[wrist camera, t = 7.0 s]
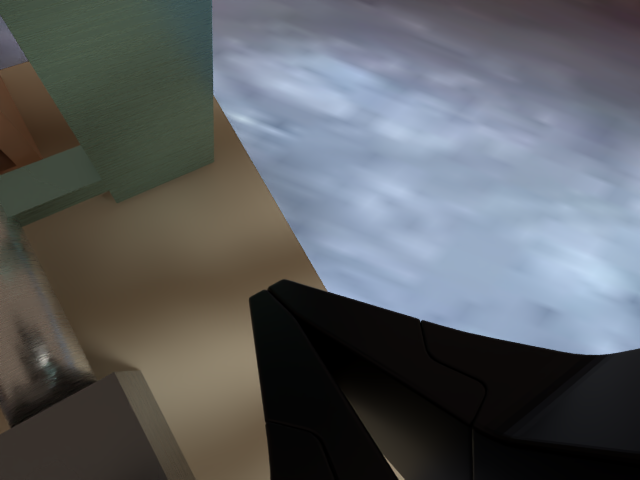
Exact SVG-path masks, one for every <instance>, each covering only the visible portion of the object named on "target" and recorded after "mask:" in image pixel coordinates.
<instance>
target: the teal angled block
mask: <svg viewBox="0 0 640 480" xmlns="http://www.w3.org/2000/svg"><path fill="white" fill-rule="evenodd" d="M0 15H1V17H2V18H3V20H4V22H5V23H6V25H7V26H8V28H9V30H10V31H11V33H12V34H13V36H14V38H15V39H16V41H17V43H18V44H19V46H20V47H21V49H22V51H23V52H24V54H25V56H26V57H27V59H28V60H29V62H30V64H31V65H32V67H33V68H34V70H35V72H36V73H37V75H38V77H39V78H40V80H41V81H42V83H43V85H44V86H45V88H46V90H47V91H48V93H49V94H50V96H51V98H52V99H53V101H54V102H55V104H56V106H57V107H58V109H59V111H60V112H61V114H62V115H63V117H64V119H65V120H66V122H67V124H68V125H69V127H70V128H71V130H72V132H73V133H74V135H75V136H76V138H77V140H78V141H79V143H80V145H79V146H77V147H74V148H71V149H69V150H66V151H63V152H61V153H58V154H55V155H53V156H50V157H47V158H45V159H42V160H39V161H37V162H34V163H31V164H29V165H26V166H23V167H21V168H18V169H15V170H13V171H10V172H7V173H5V174H2V175H0V408H1V411H2V413H3V415H4V417H5V419H6V422H7V424H8V426H9V428H10V429H11V428H13V427H14V426H16V425H18V424H20V423H22V422H24V421H25V420H27V419H29V418H31V417H33V416H34V415H36V414H38V413H40V412H42V411H44V410H45V409H47V408H49V407H51V406H53V405H55V404H56V403H58V402H60V401H62V400H64V399H65V398H67V397H69V396H71V395H73V394H75V393H76V392H78V391H80V390H82V389H84V388H86V387H87V386H89V385H91V384H93V383H95V382H96V381H98V380H97V378H96V376H95V374H94V372H93V370H92V368H91V366H90V364H89V362H88V360H87V358H86V356H85V354H84V352H83V350H82V348H81V345H80V343H79V341H78V339H77V337H76V335H75V333H74V331H73V329H72V327H71V325H70V323H69V321H68V319H67V317H66V315H65V313H64V311H63V309H62V307H61V305H60V303H59V301H58V299H57V297H56V295H55V293H54V291H53V289H52V287H51V285H50V282H49V280H48V278H47V276H46V274H45V272H44V270H43V268H42V266H41V264H40V262H39V260H38V258H37V256H36V254H35V252H34V250H33V248H32V246H31V244H30V242H29V240H28V238H27V236H26V234H25V232H24V230H23V228H22V227H23V226H25V225H28V224H30V223H33V222H35V221H37V220H40V219H42V218H45V217H47V216H50V215H52V214H54V213H57V212H59V211H62V210H64V209H66V208H69V207H71V206H74V205H76V204H78V203H81V202H83V201H86V200H88V199H90V198H93V197H95V196H98V195H100V194H102V193H105V192H107V191H110V193H111V195H112V196H113V198H114V200H115V201H116V203H119V202H122V201H124V200H126V199H129V198H131V197H133V196H136V195H138V194H140V193H143V192H145V191H148V190H150V189H152V188H155V187H157V186H159V185H162V184H164V183H166V182H169V181H171V180H173V179H176V178H178V177H180V176H183V175H185V174H187V173H190V172H192V171H194V170H197V169H199V168H201V167H204V166H206V165H208V164H211V163H213V162H214V114H213V49H212V0H0Z"/></svg>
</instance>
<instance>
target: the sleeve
mask: <svg viewBox="0 0 640 480" xmlns="http://www.w3.org/2000/svg"><path fill="white" fill-rule="evenodd" d="M0 480H196V479H195V477H194V475H193V473H192V471H191V469H190V467H189V465H188V463H187V461H186V459H185V457H184V455H183V453H182V451H181V449H180V447H179V445H178V443H177V441H176V439H175V437H174V435H173V433H172V431H171V429H170V427H169V425H168V423H167V421H166V419H165V417H164V415H163V413H162V412H161V410H160V408H159V406H158V404H157V402H156V400H155V398H154V396H153V394H152V392H151V390H150V388H149V386H148V384H147V382H146V380H145V378H144V376H143V374H142V372H141V370H137V371H119V372H113V373H111V374H109V375H107V376H106V377H104V378H102V379H100V380H98V381H96V382H95V383H93V384H91V385H89V386H87V387H86V388H84V389H82V390H80V391H78V392H76V393H75V394H73V395H71V396H69V397H67V398H65V399H64V400H62V401H60V402H58V403H56V404H55V405H53V406H51V407H49V408H47V409H45V410H44V411H42V412H40V413H38V414H36V415H34V416H33V417H31V418H29V419H27V420H25V421H24V422H22V423H20V424H18V425H16V426H14V427H13V428H11V429H9V430H7V431H5V432H3V433H2V434H0Z"/></svg>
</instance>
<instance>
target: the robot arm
mask: <svg viewBox="0 0 640 480" xmlns="http://www.w3.org/2000/svg"><path fill="white" fill-rule="evenodd" d="M249 307H250V315H251V322H252V330H253V337H254V345H255V352H256V359H257V367H258V374H259V382H260V389H261V397H262V404H263V412H264V419H265V423H266V424H265V429H266V436H267V444H268V455H269V465H270V480H399V479H398V477H397V476H396V474H395V473H394V471H393V470H392V468H391V466H390V465H389V463H388V462H387V460H388V461H389V462H390V463H391V464H392V465H393V467H394V468H395V469H396V470H397V471H398V472H399V473H400V475H401V476H402V477H403V478H404V479H405V480H640V349H635V350H629V351H624V352H619V353H613V354H605V355H583V354H573V353H567V352H561V351H556V350H551V349H546V348H541V347H535V346H530V345H525V344H520V343H515V342H510V341H505V340H500V339H495V338H490V337H486V336H481V335H477V334H472V333H468V332H464V331H460V330H456V329H453V328H449V327H445V326H441V325H438V324H435V323H431V322H428V321H425V320H422V321H421V323H420V320H419V319H417V318H414V317H411V316H407V315H404V314H401V313H397V312H394V311H391V310H387V309H384V308H381V307H377V306H374V305H371V304H367V303H364V302H361V301H357V300H354V299H350V298H347V297H344V296H340V295H337V294H334V293H330V292H327V291H324V290H320V289H317V288H314V287H310V286H307V285H304V284H300V283H297V282H294V281H290V280H287V279H282V280H280V281H278V282H276V283H274V284H272V285H270V286H269V287H268V289H267V290H265V289H264V290H261V291H260V292H258V293H256V294H254V295H252V296H251V297H250V298H249ZM384 456H385V457H386V459H387V460H386V459H385V457H384Z"/></svg>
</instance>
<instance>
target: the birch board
mask: <svg viewBox="0 0 640 480" xmlns="http://www.w3.org/2000/svg"><path fill="white" fill-rule="evenodd" d="M0 76H1V77H2V79H3V81H4V83H5V85H6V87H7V89H8V91H9V93H10V95H11V97H12V99H13V101H14V103H15V105H16V107H17V109H18V111H19V113H20V114H21V116H22V118H23V120H24V122H25V124H26V126H27V128H28V130H29V132H30V134H31V136H32V138H33V140H34V142H35V144H36V146H37V148H38V150H39V152H40V154H41V156H42V158H43V159H45V158H47V157H50V156H53V155H55V154H58V153H61V152H63V151H66V150H69V149H71V148H74V147H77V146H79V145H80V143H79V141H78V140H77V138H76V136H75V135H74V133H73V132H72V130H71V128H70V127H69V125H68V124H67V122H66V120H65V119H64V117H63V115H62V114H61V112H60V111H59V109H58V107H57V106H56V104H55V102H54V101H53V99H52V98H51V96H50V94H49V93H48V91H47V90H46V88H45V86H44V85H43V83H42V81H41V80H40V78H39V77H38V75H37V73H36V72H35V70H34V68H33V67H32V65H31V64H30V62H29V61H28V62H25V63H22V64H18V65H15V66H12V67H8V68H5V69H2V70H0ZM213 114H214V162H213V163H211V164H208V165H206V166H204V167H201V168H199V169H197V170H194V171H192V172H190V173H187V174H185V175H183V176H180V177H178V178H176V179H173V180H171V181H169V182H166V183H164V184H162V185H159V186H157V187H155V188H152V189H150V190H148V191H145V192H143V193H140V194H138V195H136V196H133V197H131V198H129V199H126V200H124V201H122V202H119V203H116V201H115V200H114V198H113V196H112V195H111V193H110V191H107V192H105V193H102V194H100V195H98V196H95V197H93V198H90V199H88V200H86V201H83V202H81V203H78V204H76V205H74V206H71V207H69V208H66V209H64V210H62V211H59V212H57V213H54V214H52V215H50V216H47V217H45V218H42V219H40V220H37V221H35V222H33V223H30V224H28V225H25V226H23V227H22V228H23V230H24V232H25V234H26V236H27V238H28V240H29V242H30V244H31V246H32V248H33V250H34V252H35V254H36V256H37V258H38V260H39V262H40V264H41V266H42V268H43V270H44V272H45V274H46V276H47V278H48V280H49V282H50V285H51V287H52V289H53V291H54V293H55V295H56V297H57V299H58V301H59V303H60V305H61V307H62V309H63V311H64V313H65V315H66V317H67V319H68V321H69V323H70V325H71V327H72V329H73V331H74V333H75V335H76V337H77V339H78V341H79V343H80V345H81V348H82V350H83V352H84V354H85V356H86V358H87V360H88V362H89V364H90V366H91V368H92V370H93V372H94V374H95V376H96V378H97V380H100V379H102V378H104V377H106V376H107V375H109V374H111V373H113V372H119V371H137V370H141V372H142V374H143V376H144V378H145V380H146V382H147V384H148V386H149V388H150V390H151V392H152V394H153V396H154V398H155V400H156V402H157V404H158V406H159V408H160V410H161V412H162V413H163V415H164V417H165V419H166V421H167V423H168V425H169V427H170V429H171V431H172V433H173V435H174V437H175V439H176V441H177V443H178V445H179V447H180V449H181V451H182V453H183V455H184V457H185V459H186V461H187V463H188V465H189V467H190V469H191V471H192V473H193V475H194V477H195V479H196V480H270V465H269V455H268V444H267V436H266V429H265V424H266V423H265V419H264V412H263V404H262V397H261V389H260V382H259V374H258V367H257V359H256V352H255V345H254V337H253V330H252V322H251V315H250V307H249V298H250V297H251V296H252V295H254V294H256V293H258V292H260V291H261V290H264V289H265V290H267V289H268V287H269V286H270V285H272V284H274V283H276V282H278V281H280V280H282V279H287V280H290V281H294V282H297V283H300V284H304V285H307V286H310V287H314V288H317V289H320V290H324V291H327V290H326V288H325V286H324V285H323V283H322V281H321V279H320V278H319V276H318V274H317V273H316V271H315V269H314V267H313V266H312V264H311V262H310V261H309V259H308V257H307V255H306V254H305V252H304V250H303V248H302V247H301V245H300V243H299V242H298V240H297V238H296V236H295V235H294V233H293V231H292V229H291V228H290V226H289V224H288V223H287V221H286V219H285V217H284V216H283V214H282V212H281V211H280V209H279V207H278V205H277V204H276V202H275V200H274V198H273V197H272V195H271V193H270V192H269V190H268V188H267V186H266V185H265V183H264V181H263V180H262V178H261V176H260V174H259V173H258V171H257V169H256V167H255V166H254V164H253V162H252V161H251V159H250V157H249V155H248V154H247V152H246V150H245V149H244V147H243V145H242V143H241V142H240V140H239V138H238V136H237V135H236V133H235V131H234V130H233V128H232V126H231V124H230V123H229V121H228V119H227V118H226V116H225V114H224V112H223V111H222V109H221V107H220V105H219V104H218V102H217V100H216V99H215V97H214V95H213ZM9 429H10V428H9V426H8V424H7V422H6V419H5V417H4V415H3V413H2V411H1V408H0V434H2V433H3V432H5V431H7V430H9ZM384 457H385V456H384ZM385 459H386V457H385ZM386 460H387V459H386ZM387 462H388V463H389V465H390V466H391V468H392V470H393V471H394V473H395V474H396V476H397V477H398V479H399V480H405V479H404V478H403V477H402V476H401V475H400V473H399V472H398V471H397V470H396V469H395V468H394V467H393V465H392V464H391V463H390V462H389V461H388V460H387Z"/></svg>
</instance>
